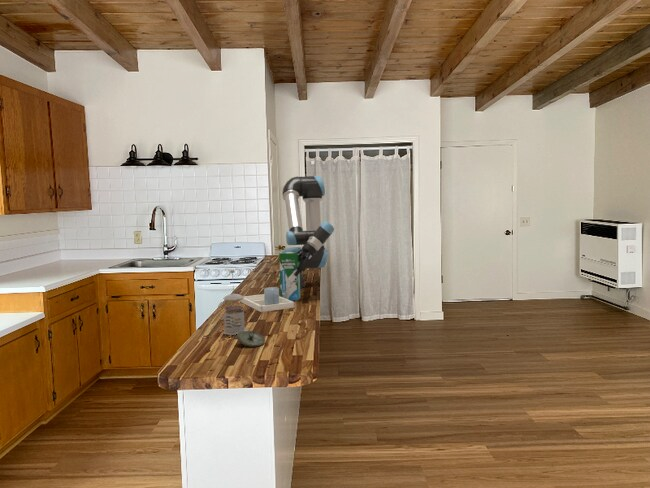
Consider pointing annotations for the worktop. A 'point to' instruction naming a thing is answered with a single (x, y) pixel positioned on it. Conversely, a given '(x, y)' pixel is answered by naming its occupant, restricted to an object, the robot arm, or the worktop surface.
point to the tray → (259, 305)
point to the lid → (250, 338)
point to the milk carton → (287, 267)
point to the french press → (229, 325)
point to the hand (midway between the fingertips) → (285, 278)
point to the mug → (271, 295)
